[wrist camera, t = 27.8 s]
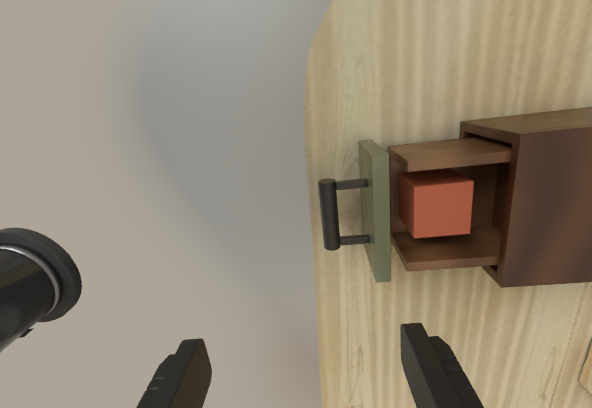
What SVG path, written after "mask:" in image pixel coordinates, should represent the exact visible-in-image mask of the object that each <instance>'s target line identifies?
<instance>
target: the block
mask: <svg viewBox="0 0 592 408" xmlns="http://www.w3.org/2000/svg"><path fill="white" fill-rule="evenodd" d="M473 188H474V181H473V180H471V179H469V178H467V177H466V176H464V175H462V174H460V173H459V172H457V171H455V170H453V169H451V168H444V169H434V170H423V171H413V172H402V173H399V215H400V219H401V220H402V222H403V223H404V225H405V226H406V228H407V229H408V231H409V232H410V234H411V235H412V237H413V238H426V237H438V236H449V235H461V234H470V229H471V215H472V202H473Z"/></svg>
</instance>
